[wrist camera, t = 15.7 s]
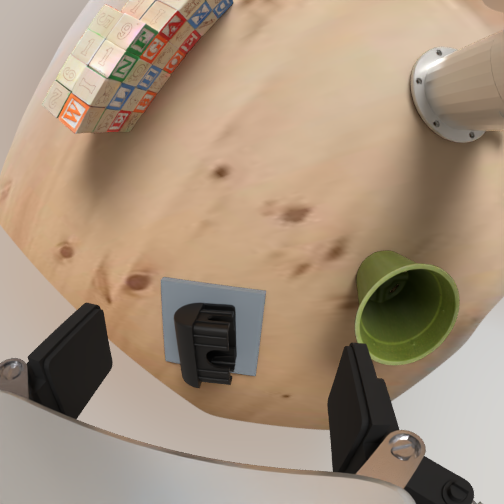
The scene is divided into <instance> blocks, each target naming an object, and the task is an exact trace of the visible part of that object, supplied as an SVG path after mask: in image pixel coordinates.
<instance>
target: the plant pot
mask: <svg viewBox="0 0 504 504" xmlns="http://www.w3.org/2000/svg"><path fill="white" fill-rule="evenodd" d="M405 271H407V272H405ZM397 284H398V285H399V284H400V285H399V286H398V287H397V289H396V290H395V291H394V292H392V293H391V292H390V291H391V290H392V289H393V288H394V287H395V286H396V285H397ZM357 291H358V300H359V308H358V311H357V314H356V319H355V335H356V340H357V342H358V343H365V344H366V345H367V347H368V350H369V353H370V356H371V359H372V360H374V361H376V362H378V363H381V364H386V365H403V364H408V363H412V362H415V361H417V360H420V359H422V358H423V357H425V356H427V355H428V354H430V353H432V352H433V351H434V350H435V349H436V348H438V347H439V346H440V345H441V344H442V343H443V342H444V340H445V339H446V338H447V336H448V335H449V333H450V332H451V330H452V328H453V326H454V324H455V322H456V319H457V316H458V312H459V293H458V289H457V286H456V284H455V282H454V280H453V279H452V277H451V276H450V275H449V274H448V273H447V272H445V271H444V270H442V269H441V268H439V267H436V266H434V265H430V264H418V263H415V262H413V261H411V260H409V259H407V258H405V257H403V256H402V255H400V254H397V253H395V252H393V251H379V252H375V253H373V254H372V255H370V256H369V257H367V258H366V259H365V260H364V261H363V262H362V264H361V266H360V267H359V270H358V273H357Z"/></svg>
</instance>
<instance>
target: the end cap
mask: <svg viewBox="0 0 504 504" xmlns="http://www.w3.org/2000/svg"><path fill="white" fill-rule="evenodd" d="M174 324H175V332H176V339H177V346H178V352H179V359H180V365H181V371H182V377H183V379H184V381H185V382H186V383H187V384H189V385H190V386H193V387H196V388H200V385H201V382H209V383H218V384H228V385H231V381H232V376H230V372H234V369H235V363H236V357H237V347H236V310H235V307H234V306H233V305H227V304H213V303H200V302H199V303H191V304H187V305H184V306H182V307H180V308H179V309H178V310H177V311H176V312H175V314H174Z"/></svg>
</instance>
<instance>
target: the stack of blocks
mask: <svg viewBox="0 0 504 504" xmlns="http://www.w3.org/2000/svg"><path fill="white" fill-rule="evenodd" d="M232 4H233V0H128V2H127V3H126V4H125V6H124V7H123V8H122V10H121V12H120V11H118V10H116V9H114V8H112V7H111V6H108V5H106V4H105V5H104V6H103V7H102V8H101V10H100V11H99V12H98V14H97V15H96V17H95V18H94V19H93V21H92V22H91V23H90V25H89V26H88V29H87V30H86V31H85V33H84V34H83V35H82V37H81V39H80V40H79V42H78V43H77V45H76V46H75V48H74V49H73V51H72V53H71V54H70V55H69V57H68V59H67V60H66V62H65V64H64V65H63V67H62V69H61V70H60V72H59V74H58V76H57V77H56V80H55V81H54V82H53V84H52V86H51V87H50V89H49V91H48V93H47V95H46V97H45V99H44V101H43V103H42V106H43V107H44V108H46V109H47V110H48V111H49V112H50V113H51V114H52V115H53V116H54V117H56V118H58V119H59V121H60V122H62V123H63V124H64V125H65V126H66V127H68V128H69V129H70V130H71V131H72V132H74V133H75V134H76V133H104V132H118V131H119V132H130V131H131V129H132V128H133V126H134V125H135V123H136V122H137V121H138V119H139V118H140V116H141V115H142V113H144V111H145V110H146V109H147V107H148V106H149V104H150V103H151V101H152V100H153V99H154V97H155V96H156V95H157V93H158V92H159V91H160V89H161V88H162V87H163V85H164V84H165V83H166V81H167V80H168V79H169V77H170V76H171V73H172V72H173V71H174V70H175V68H176V67H177V66H178V65H179V63H180V62H181V61H182V60H183V58H184V57H185V56H186V54H187V53H188V52H189V51H190V49H191V48H192V47H193V46H194V45H195V43H196V42H197V41H198V40H199V39H200V37H201V36H203V35H204V34H205V33H206V32H207V31H208V30H209V29H210V27H211V26H212V25H213V24H214V23H215V22H216V21H217V20H218V18H220V16H221V15H222V14H223V13H224V12H225V11H226V10H227V9H228V8H229V7H230V6H231V5H232Z"/></svg>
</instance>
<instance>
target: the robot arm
mask: <svg viewBox="0 0 504 504" xmlns="http://www.w3.org/2000/svg"><path fill="white" fill-rule="evenodd" d="M436 53H437V54H438V55H437V54H436ZM416 81H417V82H418V84H417V83H416ZM410 84H411V93H412V97H413V101H414V104H415V106H416V109H417V111H418V113H419V114H420V116H421V118H422V119H423V121H424V122H425V123H426V124H427V126H428V127H429V128H430V129H431V130H432V131H434V132H435V133H436V134H437V135H439V136H441V137H442V138H444V139H447V140H449V141H453V142H458V143H466V142H472V141H474V140H476V139H478V138H480V137H481V136H482V135H483V134H484V133H485V132H486V131H504V30H502V31H500V32H497V33H495V34H493V35H490V36H488V37H486V38H483V39H481V40H479V41H477V42H474V43H472V44H470V45H468V46H465V47H463V48H461V49H459V50H457V49H454V48H450V47H436V48H433V49H430V50H428V51H427V52H425V53H423V54H422V55H421V56H420V57H419V58H418V59H417V61H416V63H415V65H414V66H413V70H412V73H411V82H410ZM433 123H435V126H434V124H433ZM469 134H470V136H469ZM28 360H29V362H28V363H27V364H26V363H25V362H24V361H23V360H21V359H18V358H11V359H7V360H5V361H3V362H1V363H0V504H477V503H476V502H475V501H474V500H473V498H474V491H473V488H472V486H471V485H470V483H469V482H468V481H466V480H465V479H463V478H462V477H460V476H458V475H456V474H454V473H453V472H451V471H449V470H447V469H446V468H444V467H442V466H440V465H439V464H437V463H435V462H433V461H432V460H430V459H428V458H427V457H425V456H424V455H425V451H426V450H425V444H424V442H423V441H422V439H421V438H420V437H419V436H418V435H416V434H415V433H413V432H410V431H406V430H399V427H398V424H397V420H396V417H395V413H394V410H393V407H392V404H391V400H390V397H389V394H388V391H387V387H386V384H385V382H384V380H383V379H382V378H377V376H376V372H375V369H374V366H373V363H372V360H371V356H370V353H369V350H368V347H367V345H366V344H365V343H350V345H349V346H345V347H344V350H343V353H342V357H341V360H340V363H339V367H338V370H337V373H336V376H335V379H334V382H333V386H332V389H331V392H330V395H329V398H328V415H329V427H330V438H331V451H332V465H333V472H326V471H312V470H295V469H285V468H275V467H265V466H257V465H249V464H241V463H235V462H229V461H222V460H217V459H211V458H206V457H201V456H196V455H192V454H187V453H183V452H178V451H174V450H170V449H166V448H162V447H158V446H154V445H151V444H147V443H144V442H140V441H137V440H133V439H130V438H127V437H124V436H121V435H118V434H115V433H111V432H109V431H106V430H103V429H100V428H97V427H95V426H92V425H89V424H86V423H84V422H81V421H79V420H76V419H77V418H78V416H79V415H80V413H81V412H82V410H83V409H84V407H85V406H86V404H87V403H88V401H89V400H90V399H91V397H92V396H93V394H94V393H95V391H96V390H97V389H98V387H99V386H100V384H101V383H102V381H103V380H104V379H105V377H106V376H107V374H108V373H109V371H110V370H111V368H112V357H111V352H110V347H109V342H108V336H107V330H106V324H105V318H104V312H103V310H101V309H100V307H99V306H98V305H95V304H90V303H85V304H83V305H82V306H81V307H80V308H79V309H78V310H77V311H76V312H75V313H73V314H72V315H71V316H70V317H69V318H68V319H67V320H66V321H65V322H64V323H63V324H61V325H60V326H59V327H58V328H57V329H56V330H55V331H54V332H53V333H52V334H51V335H50V336H49V337H48V338H47V339H45V341H43V342H42V343H41V344H40V345H39V346H38V347H37V348H36V349H35V350H34V351H33V352H32V353H31V354H30V355H29V356H28ZM478 504H482V503H481V502H479V503H478Z"/></svg>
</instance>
